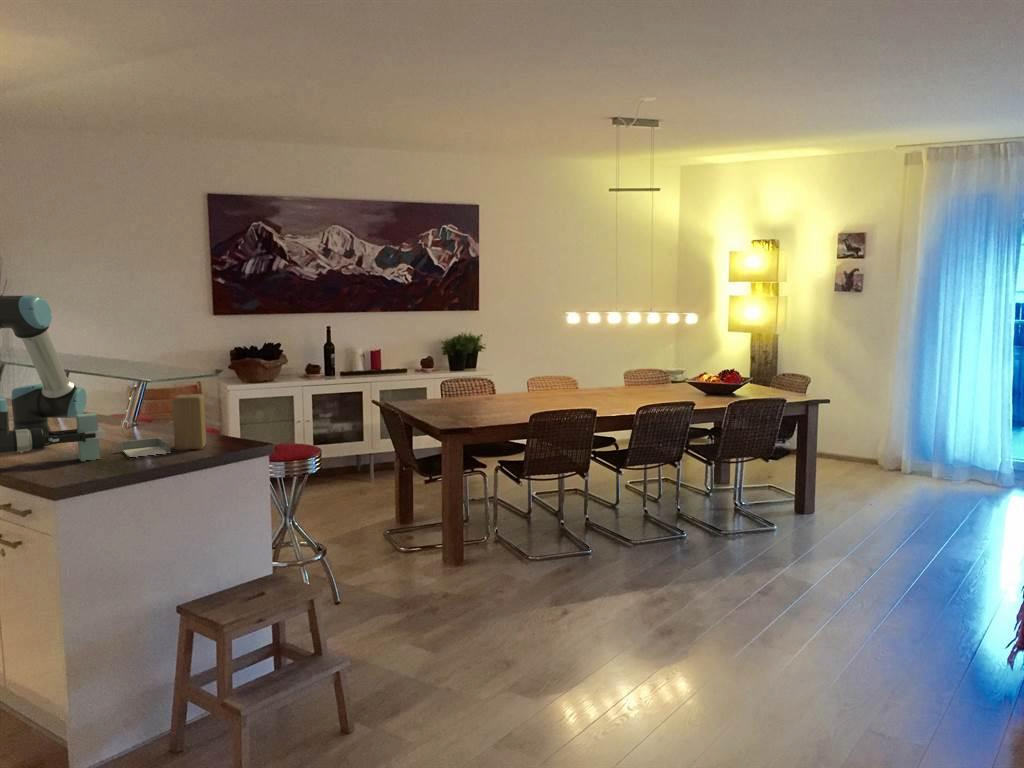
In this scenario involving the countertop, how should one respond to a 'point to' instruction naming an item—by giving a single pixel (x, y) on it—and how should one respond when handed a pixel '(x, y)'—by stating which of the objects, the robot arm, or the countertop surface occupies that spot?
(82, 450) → the teal post
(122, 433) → the countertop surface
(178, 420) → the wooden block
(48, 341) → the robot arm
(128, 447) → the corner jig
